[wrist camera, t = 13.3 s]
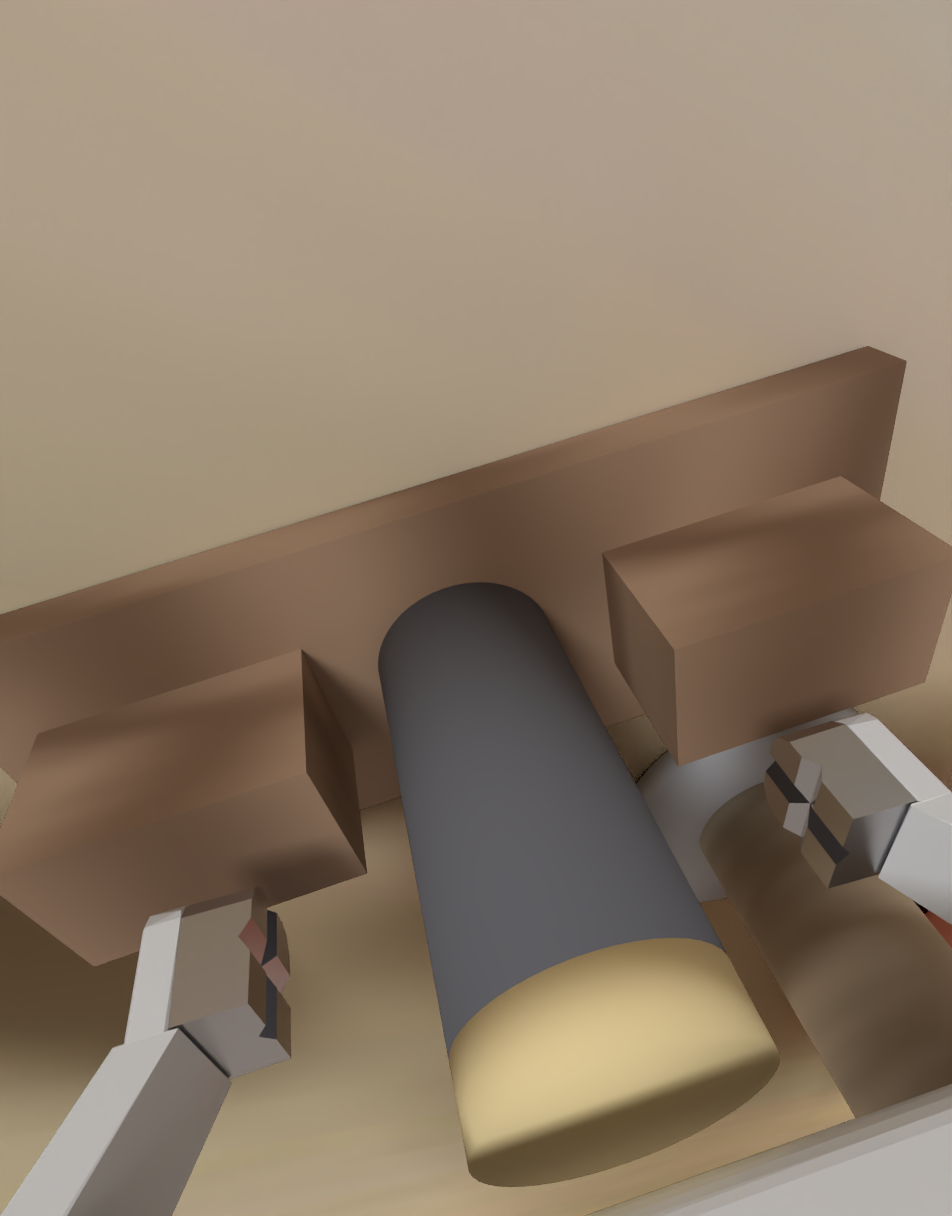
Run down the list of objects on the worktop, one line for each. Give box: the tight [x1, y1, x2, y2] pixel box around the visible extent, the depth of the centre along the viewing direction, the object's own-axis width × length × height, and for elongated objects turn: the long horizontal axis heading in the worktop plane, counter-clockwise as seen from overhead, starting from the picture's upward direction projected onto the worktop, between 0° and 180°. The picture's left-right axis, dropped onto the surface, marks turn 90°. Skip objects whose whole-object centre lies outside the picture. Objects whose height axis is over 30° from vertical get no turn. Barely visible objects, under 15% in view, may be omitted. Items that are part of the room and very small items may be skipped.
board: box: [0, 346, 952, 967], centre depth 13 cm, size 18×7×4 cm, turn 103°
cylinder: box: [378, 582, 780, 1187], centre depth 10 cm, size 4×4×8 cm
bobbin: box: [636, 707, 952, 1118], centre depth 17 cm, size 8×8×11 cm
